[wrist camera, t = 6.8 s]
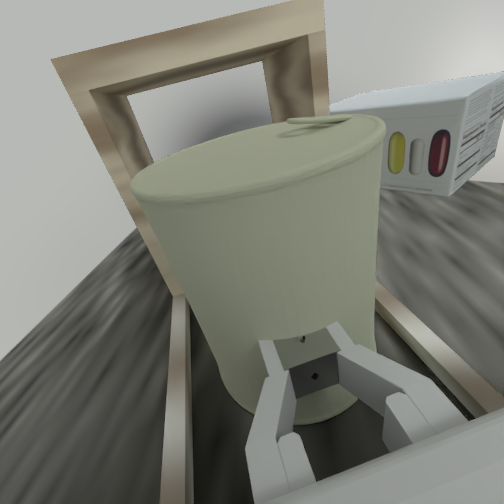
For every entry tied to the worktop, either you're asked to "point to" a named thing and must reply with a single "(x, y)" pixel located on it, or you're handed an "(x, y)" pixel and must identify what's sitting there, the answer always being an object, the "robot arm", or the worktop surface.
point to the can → (273, 241)
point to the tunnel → (282, 108)
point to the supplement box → (434, 130)
